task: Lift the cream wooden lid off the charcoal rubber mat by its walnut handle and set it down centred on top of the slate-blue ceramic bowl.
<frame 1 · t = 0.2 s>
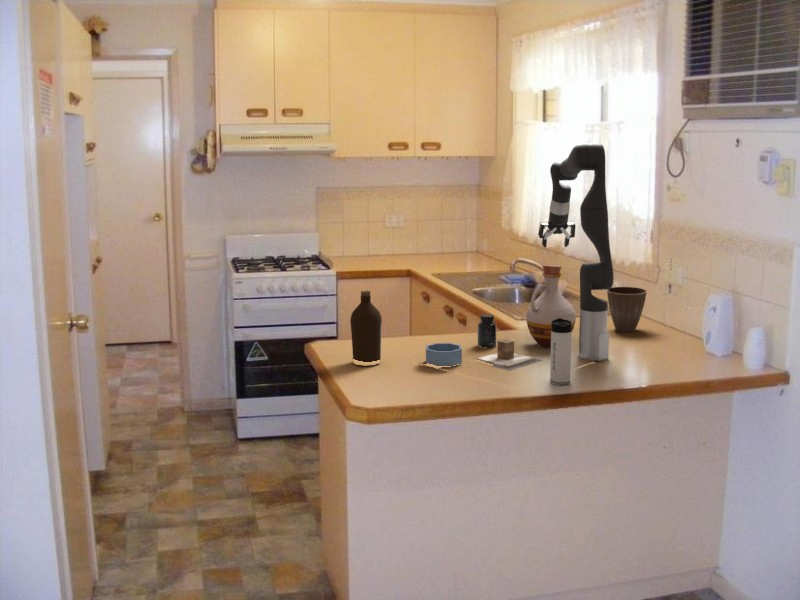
hand: (555, 246, 362), 31 cm above the countertop, tool tilted 20°, fingers open, 8 cm apart
olive oil: (367, 363, 309), on the countertop
supplement bottle: (486, 348, 329), on the countertop
lid: (505, 360, 308), point 1 cm above the countertop, touching mat
bowl: (443, 364, 306), on the countertop
jug: (548, 346, 330), on the countertop
plant pot: (625, 330, 353), on the countertop
mat: (505, 362, 309), on the countertop
travel mug: (560, 383, 284), on the countertop
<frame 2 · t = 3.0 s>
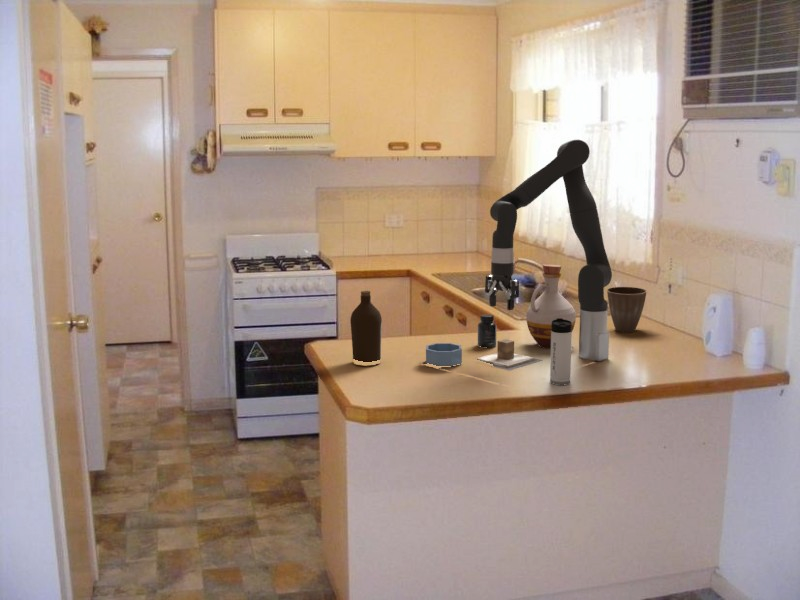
hand: (501, 307, 307), 18 cm above the countertop, tool pointing down, fingers open, 8 cm apart
nothing on the countertop moved.
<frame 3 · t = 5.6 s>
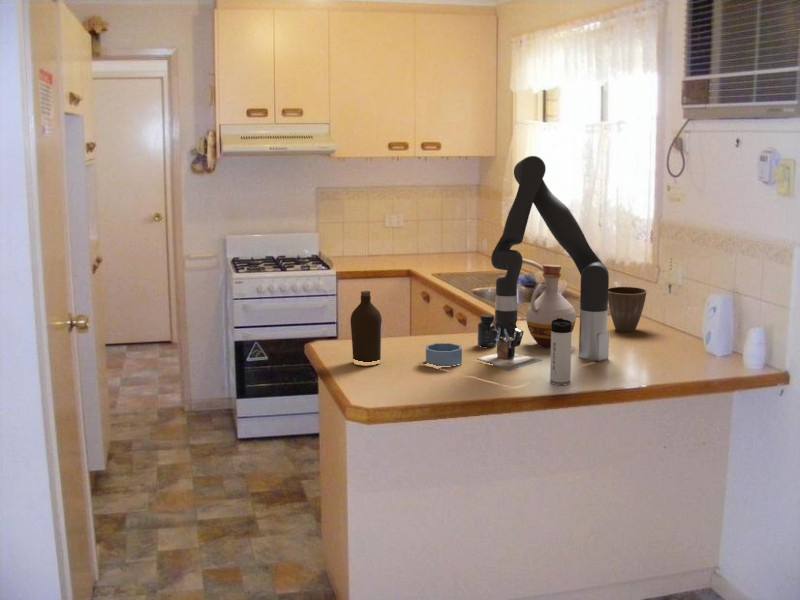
hand: (505, 356, 308), 2 cm above the countertop, tool pointing down, fingers closed on lid, 4 cm apart
lid: (505, 360, 308), point 1 cm above the countertop, touching gripper, mat
everything else where it was.
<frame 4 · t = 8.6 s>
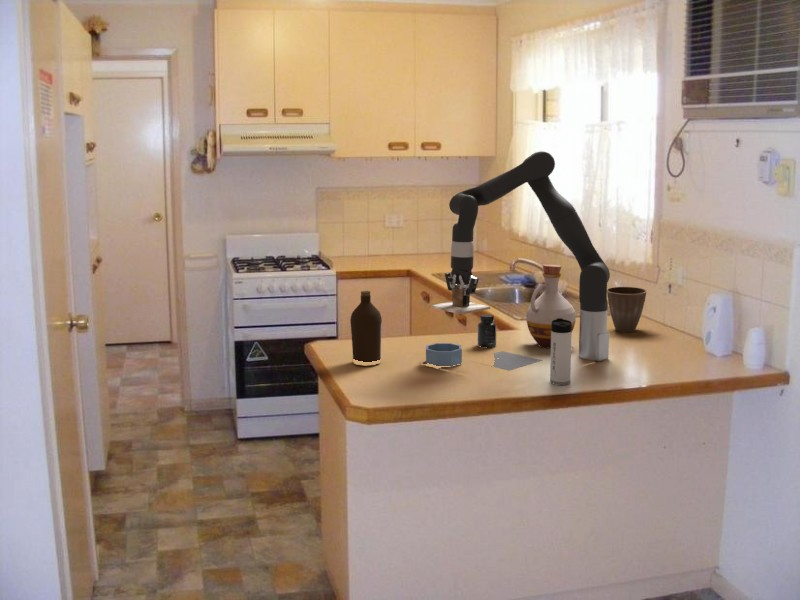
hand: (460, 304, 304), 20 cm above the countertop, tool pointing down, fingers closed on lid, 4 cm apart
lid: (460, 308, 304), point 19 cm above the countertop, touching gripper
everything else where it was.
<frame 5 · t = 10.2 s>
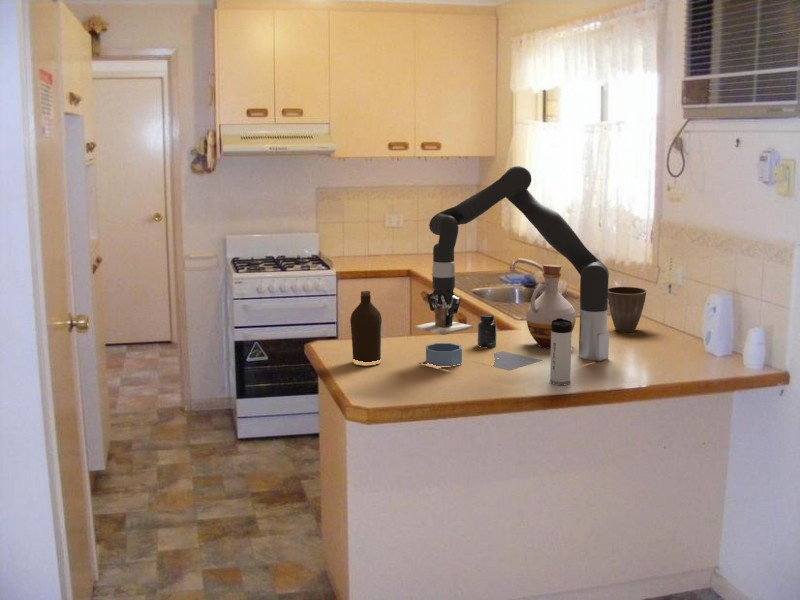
hand: (443, 324, 304), 14 cm above the countertop, tool pointing down, fingers closed on lid, 4 cm apart
lid: (443, 328, 304), point 13 cm above the countertop, touching gripper
everything else where it was.
when the fingers open (9 cm above the countertop, at t = 11.5 s): lid drops 1 cm, resting on bowl.
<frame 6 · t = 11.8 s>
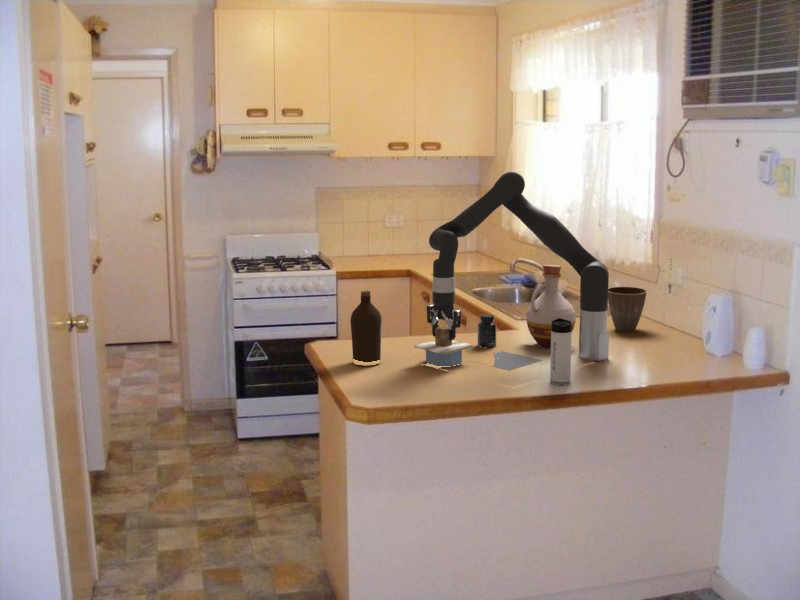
hand: (443, 337, 305), 9 cm above the countertop, tool pointing down, fingers open, 7 cm apart
lid: (443, 347, 305), point 6 cm above the countertop, touching bowl
bowl: (443, 364, 306), on the countertop, touching lid
everything else where it was.
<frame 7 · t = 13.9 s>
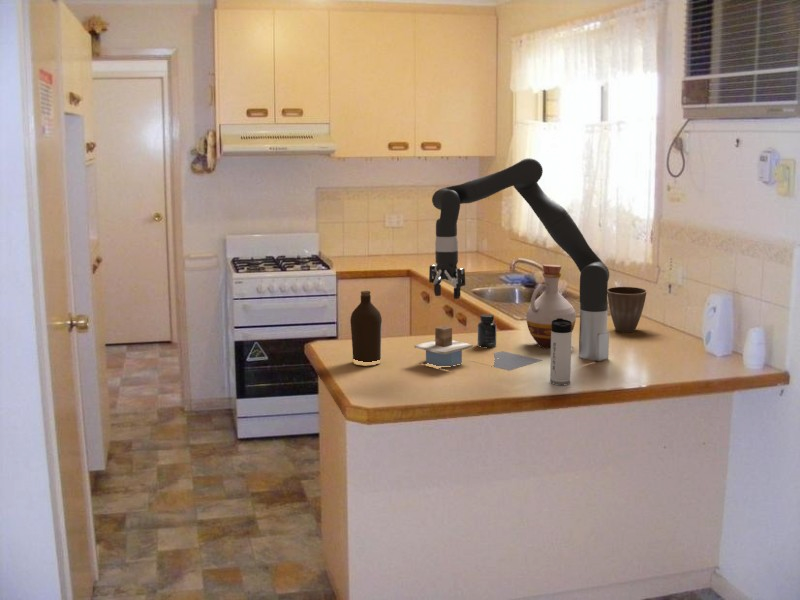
hand: (447, 297, 304), 23 cm above the countertop, tool pointing down, fingers open, 8 cm apart
nothing on the countertop moved.
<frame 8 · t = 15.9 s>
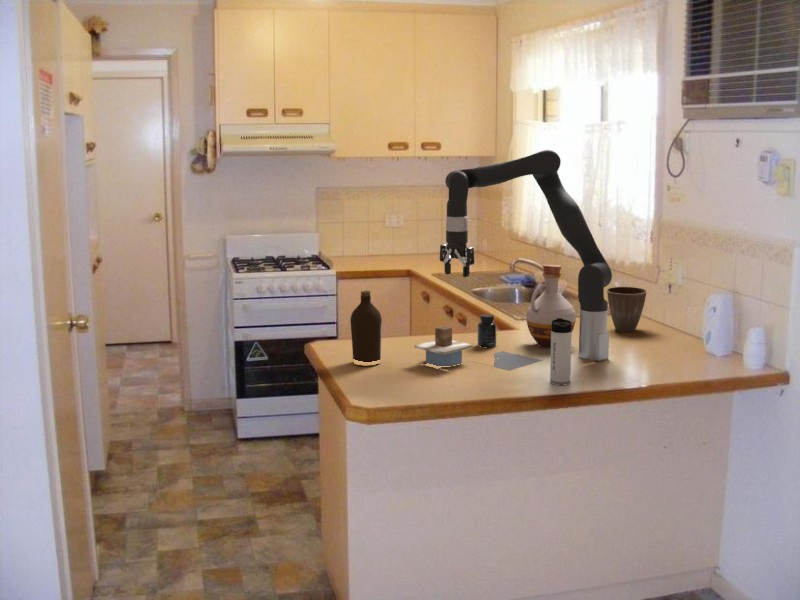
hand: (456, 275, 315), 28 cm above the countertop, tool pointing down, fingers open, 8 cm apart
nothing on the countertop moved.
at the end: lid 0.0 cm off-centre on the bowl, point 6.0 cm above the bowl's base; lid tilted 0°; lid touching bowl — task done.
